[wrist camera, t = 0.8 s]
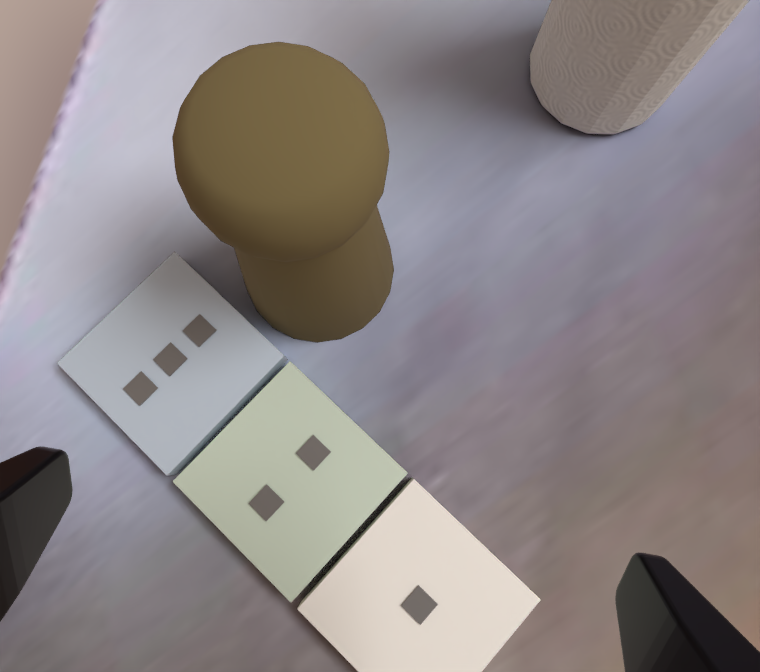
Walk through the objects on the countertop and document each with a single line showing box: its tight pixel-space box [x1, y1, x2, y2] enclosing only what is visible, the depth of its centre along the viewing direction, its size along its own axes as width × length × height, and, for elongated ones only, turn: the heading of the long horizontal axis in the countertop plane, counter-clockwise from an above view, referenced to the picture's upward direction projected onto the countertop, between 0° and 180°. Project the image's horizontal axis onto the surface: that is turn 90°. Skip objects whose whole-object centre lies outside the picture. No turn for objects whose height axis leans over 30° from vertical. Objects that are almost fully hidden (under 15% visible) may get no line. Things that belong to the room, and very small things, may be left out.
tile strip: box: [57, 252, 541, 672], centre depth 21 cm, size 6×19×1 cm, turn 47°
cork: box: [173, 42, 394, 342], centre depth 18 cm, size 6×6×11 cm
